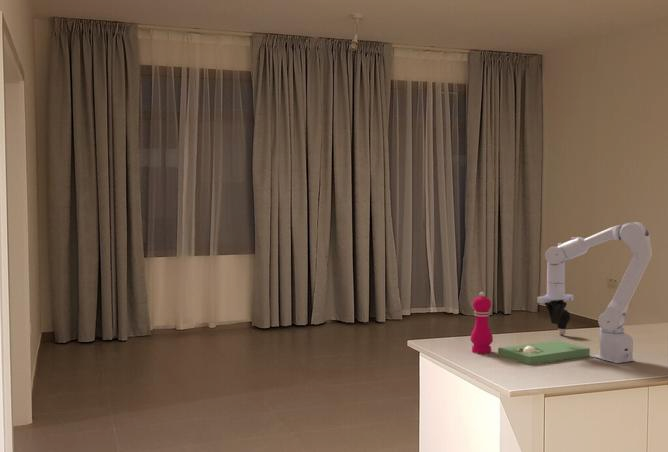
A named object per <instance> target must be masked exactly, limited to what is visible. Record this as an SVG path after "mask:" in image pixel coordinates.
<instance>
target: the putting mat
mask: <svg viewBox="0 0 668 452" xmlns="http://www.w3.org/2000/svg"><path fill="white" fill-rule="evenodd" d="M527 346H532V347H534V348H535V350H536V352H523V350H524V348H525V347H527ZM498 355H499V356H498ZM590 355H591V351H590V347H586V346H583V345H577V344H575V343H570V342H566V341H562V340H557V339H555V340H548V341H547V340H546V341H543V342H542V341H541V342H534V343H525V344H518V345H510V346H503V347H498V348H497V356H498V357H501V356H502V358H505V359H509V360H512V361H516V362H518V363H521V364H525V365H528V366H530V365H531V366H532V365H538V364H544V362H546V363H551V361H553V362H557V361H556V360H559V361H564V359H566V360H571V359H577V358H578V359H579V358H584V357H590Z"/></svg>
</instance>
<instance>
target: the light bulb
mask: <svg viewBox="0 0 668 452" xmlns="http://www.w3.org/2000/svg"><path fill="white" fill-rule="evenodd" d="M570 320H571V314H570V312H569V311H568V309H565V308H564V310H563V312H562V315H561V318H560V322H559V324H556V326H557V329H558V330H557V331H558V334H559V335H560V336H561V337H562V336H564V335H566V328H567V325H568V323H569V322H570Z"/></svg>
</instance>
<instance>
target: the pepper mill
mask: <svg viewBox="0 0 668 452" xmlns="http://www.w3.org/2000/svg"><path fill="white" fill-rule="evenodd" d="M478 294H479V296H477V297H475V298H474V299H473V301H472V307H473V309H474V311H473V312H474V314H473V315H474V316H475V325H474V328H473V330H472V332H471V334H470V341H471V343H472V344H473V345H472V346H471V351H472V352H473V353H475V354H485V353H487V354H491V353H492V346H491V344H492V343H493V340H494V338H493V333H492V331H491V329H490V327H489V316H490V311H489V310H490V309H491V308H492V301H491V299H489V298H488V297H486V295H485V294H486V293H485V292H484V291H480V292H479V293H478ZM485 355H486V354H485Z"/></svg>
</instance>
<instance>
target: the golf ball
mask: <svg viewBox="0 0 668 452" xmlns="http://www.w3.org/2000/svg"><path fill="white" fill-rule="evenodd" d="M523 352H536V350H535V348H534V347H532V346H527V347H525V348H524V350H523Z"/></svg>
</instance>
